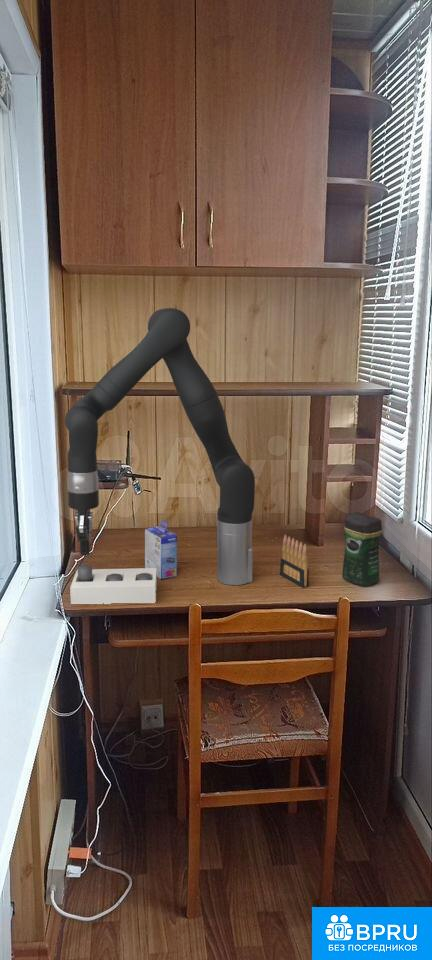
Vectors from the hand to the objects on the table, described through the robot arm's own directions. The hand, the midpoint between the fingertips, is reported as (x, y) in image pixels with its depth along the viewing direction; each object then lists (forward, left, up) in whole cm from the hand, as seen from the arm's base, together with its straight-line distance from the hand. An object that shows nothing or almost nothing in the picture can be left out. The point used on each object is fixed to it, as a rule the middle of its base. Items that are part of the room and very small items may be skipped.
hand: (85, 553), depth 179 cm
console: (-7, 0, -12) cm, 14 cm away
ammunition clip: (-55, -7, -12) cm, 56 cm away
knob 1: (0, 0, -8) cm, 8 cm away
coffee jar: (-73, -6, -12) cm, 74 cm away
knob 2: (-15, 0, -10) cm, 18 cm away
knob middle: (-7, 0, -10) cm, 13 cm away
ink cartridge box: (-19, -15, -12) cm, 27 cm away
